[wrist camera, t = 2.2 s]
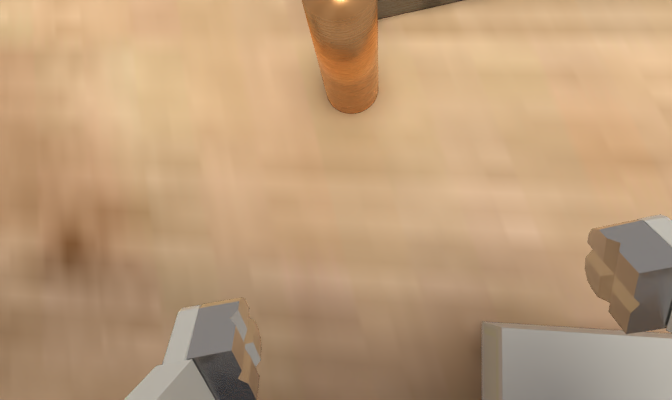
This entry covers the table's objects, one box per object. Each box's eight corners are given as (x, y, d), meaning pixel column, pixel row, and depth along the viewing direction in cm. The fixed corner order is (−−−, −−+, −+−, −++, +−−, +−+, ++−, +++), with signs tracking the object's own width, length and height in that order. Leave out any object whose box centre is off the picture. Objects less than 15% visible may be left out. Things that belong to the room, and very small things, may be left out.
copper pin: (331, 118, 28) (306, 27, 19) (322, 71, 29) (293, -41, 19) (383, 107, 28) (384, 9, 18) (372, 60, 29) (368, -58, 19)
